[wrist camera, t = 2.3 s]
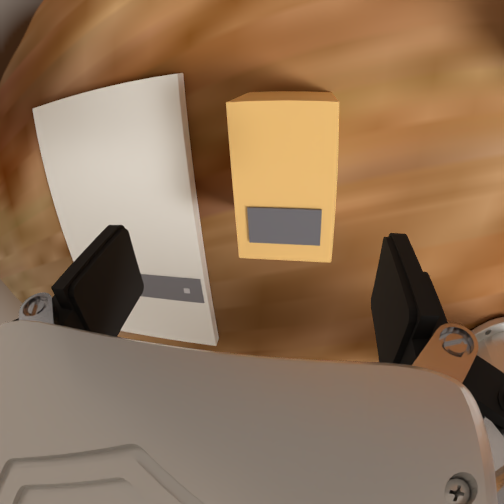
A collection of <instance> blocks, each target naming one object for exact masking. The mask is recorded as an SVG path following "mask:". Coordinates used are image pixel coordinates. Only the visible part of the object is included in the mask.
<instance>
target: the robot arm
mask: <svg viewBox="0 0 504 504" xmlns="http://www.w3.org/2000/svg"><path fill="white" fill-rule="evenodd" d="M51 288H52V290H53V292H54V294H55V295H54V296H53V298H52V297H51V295H49V294H48V293H38V294H35V295H33V296H31V297H29V298H28V299H27V300H26V301H25V302H24V303H23V304H22V306H21V307H20V311H19V318H18V319H16V320H14V321H12V322H7V323H3V324H1V325H0V504H504V317H501V318H496V319H493V320H490V321H488V322H486V323H484V324H482V325H479V326H478V327H476V328H475V329H473V330H471V331H470V330H469V329H468V328H466V327H465V326H462V325H460V324H455V323H448V322H447V320H446V317H445V314H444V311H443V309H442V306H441V304H440V301H439V299H438V296H437V294H436V291H435V289H434V286H433V284H432V281H431V279H430V277H429V275H428V273H427V272H423V271H422V269H421V266H420V264H419V262H418V259H417V257H416V255H415V252H414V250H413V248H412V246H411V243H410V241H409V239H408V237H407V235H406V234H398V233H390V234H389V237H384V239H383V243H382V249H381V254H380V259H379V264H378V269H377V274H376V279H375V284H374V288H373V293H372V297H371V309H372V315H373V321H374V328H375V334H376V341H377V348H378V355H379V362H358V361H330V360H312V359H294V358H280V357H267V356H255V355H245V354H235V353H225V352H216V351H208V350H200V349H192V348H184V347H177V346H170V345H164V344H157V343H151V342H145V341H138V340H132V339H127V338H121V337H117V335H118V334H119V332H120V330H121V328H122V327H123V325H124V323H125V322H126V320H127V318H128V316H129V315H130V313H131V311H132V310H133V308H134V306H135V305H136V303H137V301H138V300H139V298H140V296H141V295H142V293H143V290H144V283H143V280H142V277H141V273H140V270H139V267H138V263H137V260H136V256H135V253H134V249H133V246H132V242H131V238H130V235H129V231H128V230H127V229H125V227H124V226H123V225H108V226H107V227H106V228H105V229H104V230H103V231H102V232H101V233H100V234H99V235H98V236H97V237H96V238H95V240H94V241H93V242H92V243H91V244H90V245H89V246H88V247H87V248H86V249H85V250H84V251H83V252H82V253H81V254H80V256H79V257H78V258H77V259H76V260H75V261H74V262H73V263H72V264H71V266H70V267H69V268H68V269H67V270H66V271H65V272H64V273H63V275H62V276H61V277H60V278H59V279H58V280H57V281H56V283H55V284H54V285H53V286H52V287H51ZM448 480H449V481H448Z"/></svg>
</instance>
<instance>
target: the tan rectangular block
mask: <svg viewBox="0 0 504 504" xmlns="http://www.w3.org/2000/svg"><path fill="white" fill-rule="evenodd" d="M226 110H227V123H228V135H229V148H230V160H231V172H232V183H233V195H234V206H235V218H236V229H237V240H238V251H239V258H252V259H271V260H291V261H311V262H331V258H332V247H333V235H334V222H335V208H336V191H337V170H338V142H339V101H338V100H337V99H336V97H335V96H334V95H333V94H332V92H310V91H268V92H248V93H246V94H244V95H241V96H239V97H237V98H235V99H232V100H230V101H228V102H226Z"/></svg>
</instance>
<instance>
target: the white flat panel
mask: <svg viewBox="0 0 504 504" xmlns="http://www.w3.org/2000/svg"><path fill="white" fill-rule="evenodd" d="M33 115H34V121H35V127H36V132H37V137H38V142H39V146H40V151H41V155H42V160H43V164H44V168H45V172H46V176H47V180H48V184H49V187H50V191H51V195H52V198H53V202H54V205H55V208H56V212H57V215H58V218H59V221H60V224H61V228H62V231H63V234H64V237H65V239H66V242H67V245H68V248H69V251H70V254H71V256H72V259H73V262H74V261H75V260H76V259H77V258H78V257H79V256H80V254H81V253H82V252H83V251H84V250H85V249H86V248H87V247H88V246H89V245H90V244H91V243H92V242H93V241H94V240H95V238H96V237H97V236H98V235H99V234H100V233H101V232H102V231H103V230H104V229H105V228H106V227H107V226H108V225H123V226H124V227H125V229H127V230H128V231H129V235H130V238H131V242H132V246H133V249H134V253H135V256H136V260H137V263H138V267H139V270H140V273H141V277H142V280H143V283H144V290H143V293H142V295H141V296H140V298H139V300H138V301H137V303H136V305H135V306H134V308H133V310H132V311H131V313H130V315H129V316H128V318H127V320H126V322H125V323H124V325H123V327H122V328H121V330H120V331H125V332H130V333H135V334H141V335H147V336H153V337H159V338H165V339H171V340H178V341H184V342H191V343H198V344H206V345H214V346H216V345H217V342H218V339H219V336H218V330H217V325H216V319H215V313H214V307H213V301H212V295H211V289H210V283H209V277H208V270H207V264H206V258H205V251H204V244H203V237H202V230H201V223H200V216H199V209H198V202H197V194H196V186H195V178H194V170H193V162H192V154H191V145H190V136H189V127H188V117H187V108H186V97H185V87H184V75H183V73H178V74H171V75H164V76H158V77H152V78H147V79H141V80H136V81H131V82H126V83H122V84H117V85H113V86H108V87H104V88H100V89H96V90H92V91H88V92H85V93H81V94H77V95H74V96H70V97H67V98H64V99H60V100H57V101H54V102H51V103H48V104H45V105H42V106H39V107H36V108H33Z"/></svg>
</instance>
